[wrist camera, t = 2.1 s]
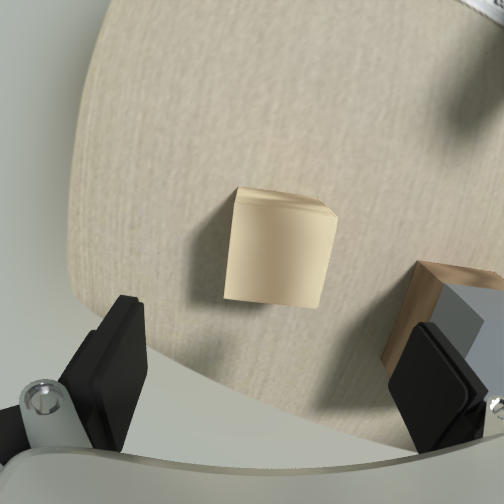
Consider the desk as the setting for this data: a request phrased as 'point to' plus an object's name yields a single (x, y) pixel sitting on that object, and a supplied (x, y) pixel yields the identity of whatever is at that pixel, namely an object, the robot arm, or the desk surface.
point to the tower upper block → (475, 330)
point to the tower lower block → (430, 300)
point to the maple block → (279, 248)
